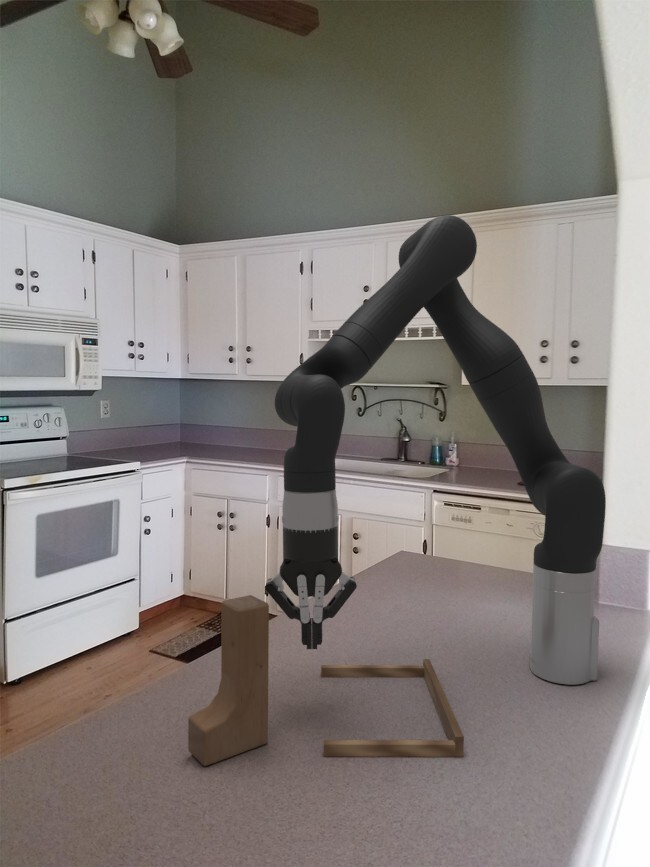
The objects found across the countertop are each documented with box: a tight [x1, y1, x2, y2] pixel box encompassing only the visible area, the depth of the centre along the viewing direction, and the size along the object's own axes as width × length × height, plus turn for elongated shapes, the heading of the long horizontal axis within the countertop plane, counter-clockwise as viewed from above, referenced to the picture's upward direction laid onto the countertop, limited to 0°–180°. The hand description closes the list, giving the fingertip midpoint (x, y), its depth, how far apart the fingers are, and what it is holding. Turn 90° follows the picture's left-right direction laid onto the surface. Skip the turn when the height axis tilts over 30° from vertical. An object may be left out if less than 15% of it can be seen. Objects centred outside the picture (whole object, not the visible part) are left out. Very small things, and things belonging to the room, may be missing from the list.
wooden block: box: [187, 594, 270, 767], centre depth 79 cm, size 9×4×18 cm, turn 127°
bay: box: [320, 658, 465, 758], centre depth 90 cm, size 17×23×2 cm
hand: (311, 647), depth 89 cm, fingers closed
